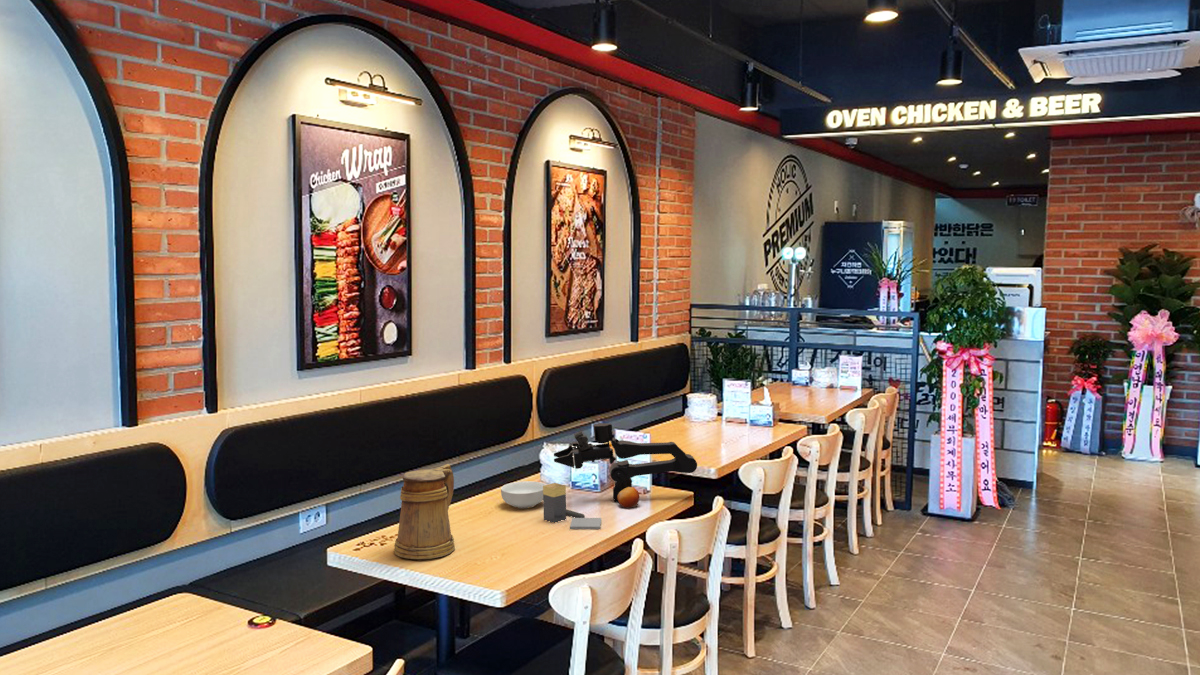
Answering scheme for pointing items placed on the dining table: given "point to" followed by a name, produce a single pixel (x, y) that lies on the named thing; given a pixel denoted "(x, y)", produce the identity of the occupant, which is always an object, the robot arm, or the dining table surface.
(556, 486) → the block
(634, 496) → the fruit
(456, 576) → the dining table surface
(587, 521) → the coaster
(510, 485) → the cereal bowl
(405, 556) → the tankard
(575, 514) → the dark notched bar
